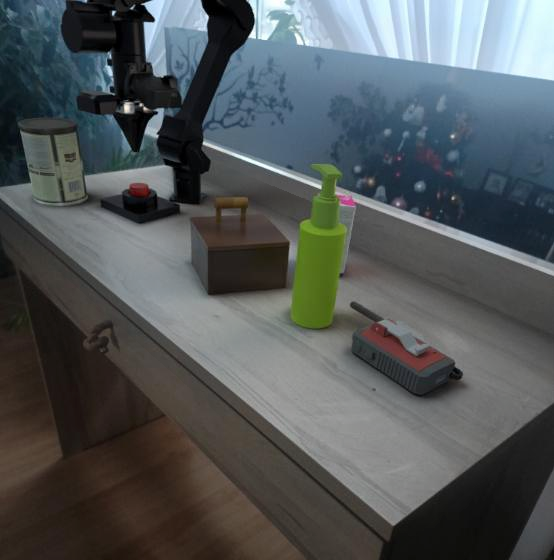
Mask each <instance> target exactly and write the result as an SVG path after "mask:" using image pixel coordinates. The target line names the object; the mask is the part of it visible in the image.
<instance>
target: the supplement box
mask: <svg viewBox="0 0 554 560" xmlns="http://www.w3.org/2000/svg"><path fill="white" fill-rule="evenodd" d="M319 193H320V192H317V195H318V194H319ZM335 195H336V196H337V197H339V198H340V199H341V204H340V211H339V217H338V222H339V223H341V224H343V225H344V226H345V227H346V228H347V232H346V238H345V245H344V251H343V257H342V264H341V270H340V276H339V277H342V276H344V275H345V269H346V264H347V259H348V253H349V247H350V242H351V236H352V232H353V225H354V220H355V214H356V210H357V207H356V204H355V201H354V198H353V197H352V196H351V195H342V194H335Z"/></svg>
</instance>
